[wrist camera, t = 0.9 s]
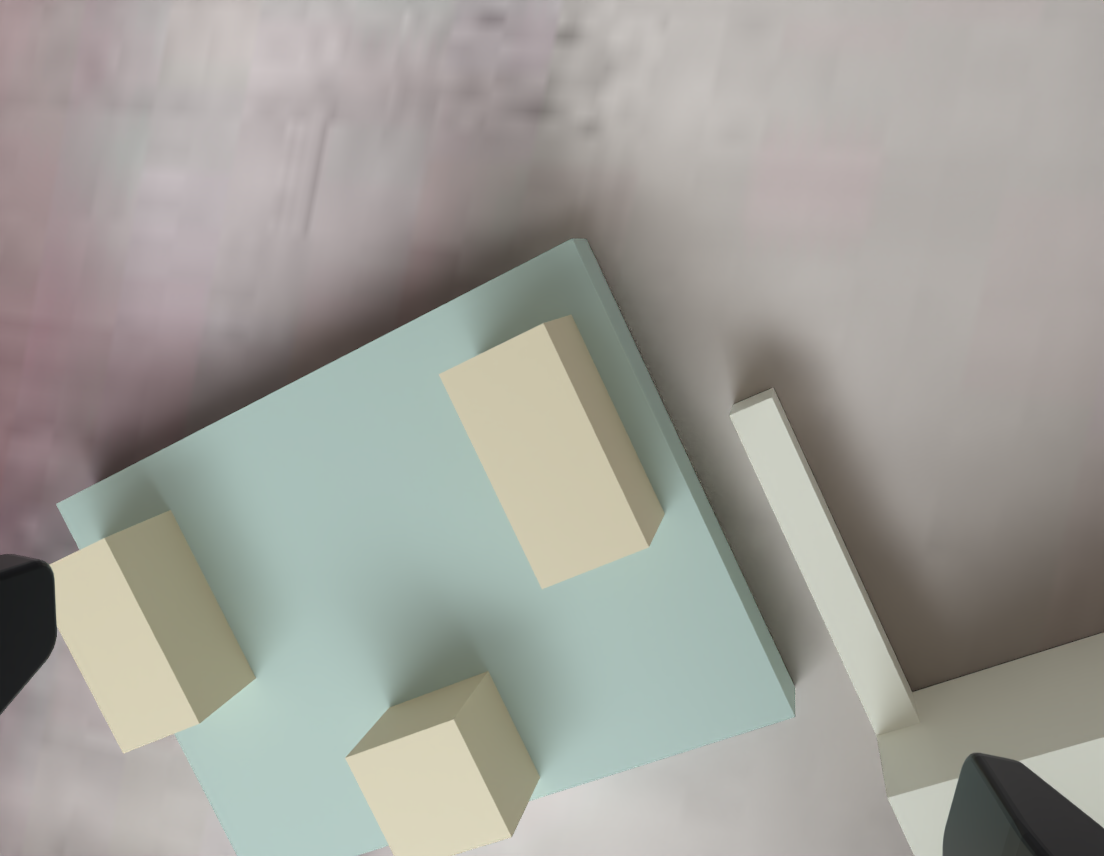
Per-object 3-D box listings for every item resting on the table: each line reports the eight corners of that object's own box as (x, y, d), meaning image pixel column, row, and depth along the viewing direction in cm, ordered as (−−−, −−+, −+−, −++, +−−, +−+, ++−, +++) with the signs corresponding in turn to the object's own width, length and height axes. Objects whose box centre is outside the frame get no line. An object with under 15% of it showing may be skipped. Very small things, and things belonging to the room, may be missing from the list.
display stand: (794, 687, 23) (795, 775, 19) (281, 855, 28) (200, 952, 24) (586, 238, 22) (543, 236, 18) (95, 490, 27) (-20, 530, 23)
